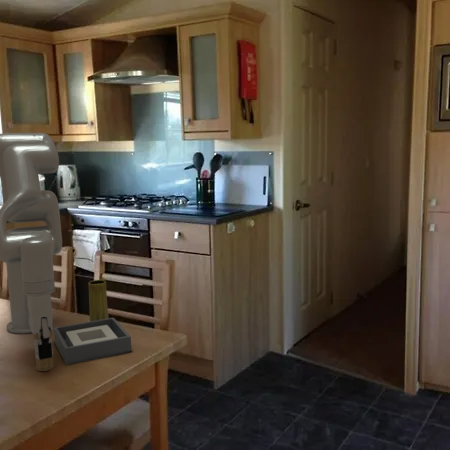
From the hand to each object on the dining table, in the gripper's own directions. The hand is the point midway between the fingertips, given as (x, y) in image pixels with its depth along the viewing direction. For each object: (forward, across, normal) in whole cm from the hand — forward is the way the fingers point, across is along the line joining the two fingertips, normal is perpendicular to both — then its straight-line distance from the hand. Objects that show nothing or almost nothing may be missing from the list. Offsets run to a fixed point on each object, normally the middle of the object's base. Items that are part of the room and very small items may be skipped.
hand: (44, 353), depth 139 cm
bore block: (+4, -8, +14) cm, 17 cm away
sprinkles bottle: (+4, 0, 0) cm, 4 cm away
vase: (+4, -24, +20) cm, 32 cm away
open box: (+4, -8, +14) cm, 17 cm away
